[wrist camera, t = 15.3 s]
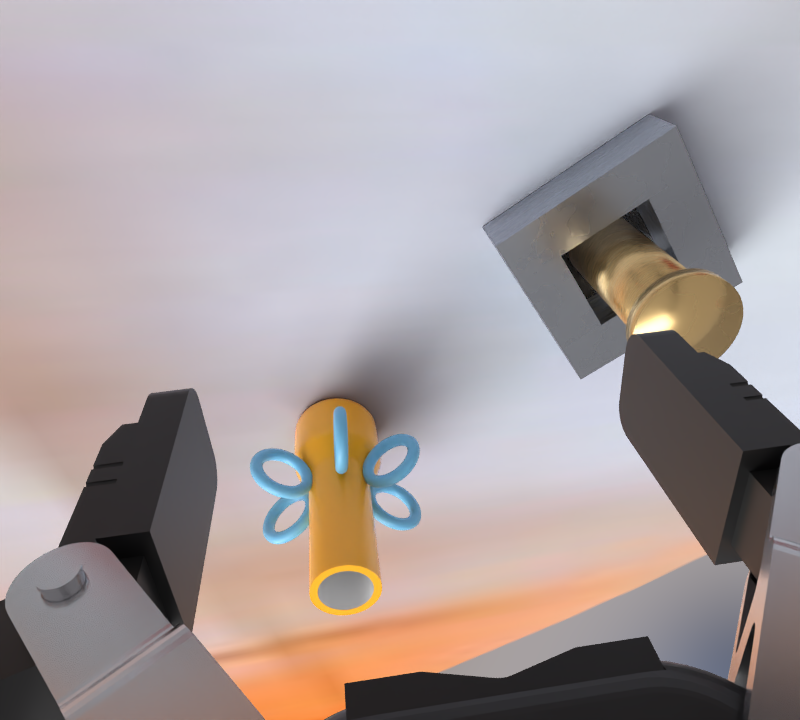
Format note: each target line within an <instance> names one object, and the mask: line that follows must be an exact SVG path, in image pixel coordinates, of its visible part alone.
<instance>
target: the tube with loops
mask: <svg viewBox="0 0 800 720" xmlns="http://www.w3.org/2000/svg"><path fill="white" fill-rule="evenodd" d="M396 446H406V447H407V448H408V452H407V456H406V458H405V459H404V461H403V462H402V463H401V465H400V466H399V467H397V468H396V469H395V470H393V471H392V472H390V473H388V474H385V475H381V476H378V472H379V469H380V463H381V460H380V457H381V456H382V455H383V454H384V453H385V452H387V451H388V450H390V449H392V448H394V447H396ZM419 453H420V448H419V444H418V442H417V440H416V439H415V438H414V437H412V436H410V435H407V434H397V435H393V436H390V437H388V438H386V439H384V440H383V441H381V442H380V443H378V437H377V431H376V425H375V421H374V419H373V417H372V415H371V414H370V413H369V411H368V410H366V409H365V408H364V407H363V406H362V405H360V404H359V403H357V402H354V401H352V400H347V399H342V398H333V399H326V400H323V401H320V402H318V403H315V404H313V405H312V406H311V407H309V408H308V409H307V410H306V411H305V412H304V413H303V414H302V415H301V417H300V418H299V420H298V422H297V425H296V431H295V455H294V454H293V453H290V452H288V451H285V450H281V449H265V450H262V451H259V452H258V453H256V454H255V455H254V457H253V458H252V460H251V463H250V471H251V474H252V477H253V478H254V480H255V481H256V483H257V484H258V485H259V486H260V487H261V488H263V489H264V490H265V491H267V492H269V493H270V494H272V495H275V496H278V497H281V498H280V499H279V500H278V501H277V502H276V503H275V504H274V505H273V507H272V508H271V509H270V511H269V512H268V514H267V516H266V518H265V521H264V524H263V534H264V536H265V538H266V539H267V540H268V541H269V542H270V543H273V544H283V543H286V542H289V541H291V540H293V539H294V538H296V537H297V536H299V535H300V534H301V533H302V532H303V531H304V530H305V529H306V528H307V527H308V526H309V594H310V599H311V601H312V602H313V604H314V605H315V606H316V607H317V608H319V609H320V610H322V611H324V612H326V613H329V614H334V615H351V614H355V613H359V612H361V611H364V610H366V609H368V608H369V607H371V606H372V605H373V604H374V603H375V602H376V601H377V600H378V598H379V597H380V595H381V591H382V583H381V575H380V567H379V559H378V550H377V542H376V534H375V525H374V518H375V519H377V520H378V521H379V522H380V523H382V524H384V525H385V526H387V527H390V528H392V529H396V530H410V529H412V528H414V527H415V526H417V525H418V523H419V522H420V519H421V510H420V507H419V504H418V503H417V501H416V500H415V498H414V497H413V496H412V495H411V494H410V493H409V492H408V491H406V490H405V489H404V488H402V487H400V486H398V485H396V483H397V482H399V481H401V480H402V479H403V478H405V477H406V476H407V475H408V474H409V473H410V472H411V470H412V469H413V468H414V466H415V465H416V463H417V461H418V458H419ZM269 460H276V461H281V462H284V463H286V464H288V465H290V466H292V467H293V468H294V469H295V471H296V474H297V477H298V479H299V480H300V482H301V483H300V484H299V485H297V486H286V485H282V484H279V483H277V482H275V481H273V480H272V479H271V478H269V477H268V476H267V475H266V473H265V472H264V470H263V467H262V465H263V463H264V462H266V461H269ZM380 492H384V493H389V494H391V495H394V496H396V497H397V498H399V499H400V500H401V501H402V502H403V503H404V504H405V505H406V506H407V507H408V509H409V512H410V516H409V517H408V518H397V517H394V516H392V515H390V514H388V513H387V512H386V511H384V510H383V509H382V508H381V507H380V506H379V504H378V503H377V501H376V498H375V495H376V494H377V493H380ZM301 500H303V501H305V509H304V511H303V513H302V515H301V517H300V518H299V519H298V520H297V521H296V523H294V524H293V525H292V526H291V527H290V528H288V529H286V530H284V531H281V532H276V531H275V523H276V521H277V519H278V517H279V516H280V514H281V513H282V512H283V511H284V510H285V509H286V508H287V507H288V506H289V505H291V504H293V503H294V502H297V501H301Z"/></svg>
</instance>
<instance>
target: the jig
mask: <svg viewBox="0 0 800 720" xmlns="http://www.w3.org/2000/svg"><path fill="white" fill-rule="evenodd" d="M636 207H637V209H638V211H639V213H640V215H641V217H642V219H643V221H644V223H645V225H646V227H647V229H648V231H649V233H650V235H651V237H652V239H653V241H654V243H655V244H656V245H658V246H659V247H660V248H661V249H663V250H664V251H665V252H666V253H668V254H669V255H670V256H671V257H673V258H674V259H675V260H676V261H678V262H679V263H680V264H681V265H683V266H684V267H685V268H687V269H688V268H699V269H705V270H709V271H711V272H714V273H715V274H717V275H719V276H720V277H721V278H723V279H724V280H725V281H727V282H728V283H729V284H731V285H732V286H733V287H735V286H737V285H738V284H740V283H742V280H741V277H740V275H739V273H738V270H737V268H736V265H735V263H734V261H733V258H732V256H731V254H730V251H729V249H728V246H727V244H726V242H725V239H724V237H723V235H722V232H721V230H720V227H719V225H718V223H717V220H716V218H715V216H714V213H713V211H712V208H711V206H710V204H709V201H708V199H707V197H706V194H705V192H704V190H703V187H702V185H701V182H700V180H699V178H698V175H697V173H696V171H695V168H694V166H693V163H692V161H691V159H690V156H689V154H688V152H687V149H686V147H685V144H684V142H683V140H682V137H681V135H680V133H679V130H678V128H677V126H676V125H674V124H672V123H669V122H667V121H664V120H662V119H660V118H657V117H655V116H653V115H650V114H648V115H647V116H645V117H644V118H643V119H641V120H640V121H638V122H637V123H635V124H634V125H632V126H631V127H629V128H628V129H626V130H625V131H623V132H622V133H620V134H619V135H617V136H616V137H614V138H613V139H612V140H610V141H609V142H607V143H606V144H604V145H603V146H601V147H600V148H598V149H597V150H595V151H594V152H592V153H591V154H589V155H588V156H586V157H585V158H583V159H582V160H581V161H579V162H578V163H576V164H575V165H573V166H572V167H570V168H569V169H567V170H566V171H564V172H563V173H561V174H560V175H558V176H557V177H555V178H554V179H552V180H551V181H550V182H548V183H547V184H545V185H544V186H542V187H541V188H539V189H538V190H536V191H535V192H533V193H532V194H530V195H529V196H527V197H526V198H524V199H523V200H522V201H520V202H519V203H517V204H516V205H514V206H513V207H511V208H510V209H508V210H507V211H505V212H504V213H502V214H501V215H499V216H498V217H496V218H495V219H493V220H492V221H491V222H489V223H488V224H486V225H485V226H483V229H484V231H485V232H486V234H487V235H488V237H489V238H490V240H491V241H492V243H493V245H494V246H495V248H496V249H497V251H498V252H499V254H500V255H501V257H502V259H503V260H504V262H505V263H506V265H507V266H508V268H509V269H510V271H511V273H512V274H513V276H514V277H515V279H516V280H517V282H518V283H519V285H520V287H521V288H522V290H523V291H524V293H525V294H526V296H527V297H528V299H529V301H530V302H531V304H532V305H533V307H534V308H535V310H536V311H537V313H538V315H539V316H540V318H541V319H542V321H543V322H544V324H545V325H546V327H547V329H548V330H549V332H550V333H551V335H552V336H553V338H554V339H555V341H556V343H557V344H558V346H559V347H560V349H561V350H562V352H563V353H564V355H565V356H566V358H567V359H568V361H569V362H570V364H571V365H572V367H573V368H574V370H575V371H576V373H577V374H578V376H579V377H580V379H582V378H584V377H586V376H587V375H589V374H591V373H592V372H594V371H596V370H597V369H599V368H601V367H602V366H604V365H606V364H607V363H609V362H611V361H612V360H614V359H616V358H617V357H619V356H621V355H622V354H624V353H625V351H626V344H627V339H626V324H625V323H624V322H623V321H622V320H621V319H620V318H619V317H618V315H617V314H616V313H615V312H614V311H613V310H612V309H611V308H610V306H609V305H608V304H607V303H606V302H605V301H604V300H603V299H602V297H601V296H600V295H599V294H598V293H596V294H594V295H593V296H591V297H590V298H588V299H586V298H585V296H584V294H583V293H582V291H581V289H580V287H579V286H578V284H577V282H576V281H575V279H574V277H573V276H572V274H571V272H570V270H569V269H568V267H567V265H566V264H565V262H564V260H563V258H562V257H561V256H562V255H563V254H565V253H566V252H568V251H570V250H571V249H573V248H574V247H576V246H577V245H579V244H580V243H582V242H583V241H585V240H586V239H588V238H590V237H591V236H593V235H594V234H596V233H597V232H599V231H600V230H602V229H603V228H605V227H606V226H608V225H610V224H611V223H613V222H614V221H616V220H617V219H619V218H620V217H622V216H623V215H625V214H626V213H628V212H630V211H631V210H633V209H634V208H636Z"/></svg>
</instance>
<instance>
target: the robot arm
mask: <svg viewBox="0 0 800 720" xmlns="http://www.w3.org/2000/svg"><path fill="white" fill-rule="evenodd" d="M619 413H620V419H621V424H622V427H623V430H624V432H625V434H626V436H627V437H628V439H629V440H630V442H631V443H632V445H633V446H634V448H635V449H636V451H637V452H638V454H639V455H640V457H641V458H642V459H643V461H644V462H645V464H646V465H647V467H648V468H649V470H650V471H651V473H652V474H653V476H654V477H655V478H656V480H657V481H658V483H659V484H660V486H661V487H662V489H663V490H664V492H665V493H666V495H667V496H668V498H669V499H670V500H671V502H672V503H673V505H674V506H675V508H676V509H677V511H678V512H679V514H680V515H681V517H682V518H683V519H684V521H685V522H686V524H687V525H688V527H689V528H690V530H691V531H692V533H693V534H694V536H695V537H696V539H697V540H698V541H699V543H700V544H701V546H702V547H703V549H704V550H705V552H706V553H707V555H708V556H709V558H710V559H711V560H712V562H713V563H714V565H718V564H726V563H732V562H739V561H743V562H744V563H745V564H746V566H747V567H748V568H749V573H748V576H747V580H746V583H745V588H744V593H743V599H742V605H741V610H740V616H739V621H738V627H737V632H736V639H735V643H734V649H733V655H732V660H731V666H730V671H729V676H728V680H727V679H725V678H722V677H720V676H717V675H715V674H712V673H710V672H708V671H704V670H701V669H698V668H695V667H691V666H688V665H683V664H678V663H673V662H667V661H660V660H659V657H658V655H657V653H656V651H655V650H654V647H653V645H652V644H651V642H650V640H649V638H648V637H641V638H634V639H628V640H621V641H615V642H608V643H602V644H595V645H589V646H582V647H577V648H573V649H571V650H569V651H567V652H564V653H562V654H560V655H557V656H555V657H553V658H550V659H548V660H546V661H544V662H541V663H539V664H537V665H535V666H532V667H530V668H528V669H525V670H523V671H521V672H518V673H516V674H514V675H512V676H509V677H505V678H486V677H476V676H464V675H453V674H441V673H430V672H416V673H409V674H403V675H397V676H390V677H384V678H377V679H371V680H365V681H358V682H352V683H345V702H346V709H345V710H342V711H340V712H338V713H336V714H334V715H332V716H330V717H328V718H326V719H325V720H800V430H799V429H798V428H797V427H796V426H795V425H794V424H793V423H792V422H791V421H790V420H789V419H787V418H786V417H785V416H784V415H783V414H782V413H781V412H780V411H779V410H778V409H777V408H776V407H775V406H774V405H773V404H771V403H770V402H769V401H768V400H767V399H766V398H764V399H763V398H762V394H761V393H760V392H759V391H758V390H757V389H755V388H754V387H753V386H752V385H748V381H747V380H746V379H745V378H744V377H743V376H742V375H741V374H739V373H738V372H737V371H736V370H735V369H734V368H733V367H732V366H731V365H730V364H728V363H726V362H724V361H722V360H720V359H718V358H716V357H714V356H712V355H709V354H707V353H705V352H699V353H698V352H697V351H696V350H695V349H694V348H693V347H692V346H691V345H689V344H688V343H687V342H686V341H685V340H684V339H683V338H682V337H681V336H680V335H679V334H678V333H677V332H676V331H674V330H664V331H656V332H648V333H640V334H633V335H631V336H630V337H629V339H628V341H627V344H626V351H625V359H624V368H623V376H622V384H621V393H620V401H619ZM93 466H94V469H93V470H91V472H90V475H89V477H88V479H87V481H86V487H84V488H83V491H82V493H81V495H80V498H79V500H78V502H77V505H76V507H75V509H74V512H73V514H72V516H71V519H70V521H69V523H68V526H67V528H66V530H65V533H64V535H63V537H62V540H61V542H60V544H59V547H58V548H56V549H54V550H52V551H50V552H48V553H46V554H44V555H42V556H40V557H39V558H37V559H36V560H34V561H33V562H32V563H30V564H29V565H28V566H27V567H25V568H24V569H23V570H22V571H21V572H20V573H19V574H18V576H17V577H16V578H15V579H14V581H13V582H12V584H11V585H10V587H9V589H8V592H7V594H6V599H4V600H2V601H0V720H265V719H264V718H263V716H262V715H261V714H260V713H259V712H258V710H257V709H256V708H255V707H254V706H253V705H252V703H251V702H250V701H249V700H248V699H247V697H246V696H245V695H244V694H243V693H242V691H241V690H240V689H239V688H238V687H237V685H236V684H235V683H234V682H233V681H232V679H231V678H230V677H229V676H228V675H227V673H226V672H225V671H224V670H223V669H222V667H221V666H220V665H219V664H218V663H217V662H216V660H215V659H214V658H213V657H212V656H211V654H210V653H209V652H208V651H207V650H206V648H205V647H204V646H203V645H202V644H201V642H200V641H199V640H198V639H197V638H196V636H195V635H194V634H193V633H192V630H193V624H194V618H195V612H196V606H197V601H198V595H199V589H200V583H201V577H202V572H203V566H204V560H205V554H206V549H207V543H208V537H209V531H210V525H211V520H212V514H213V508H214V502H215V496H216V490H217V469H216V461H215V456H214V453H213V449H212V445H211V442H210V438H209V434H208V431H207V427H206V424H205V420H204V416H203V413H202V409H201V406H200V402H199V399H198V396H197V393H196V391H195V390H194V389H193V388H190V389H182V390H174V391H166V392H158V393H151V394H149V396H148V398H147V400H146V403H145V406H144V408H143V411H142V414H141V416H140V419H139V422H138V423H132V424H124V425H122V426H121V427H119V428H118V429H117V430H116V431H115V432H114V433H113V434H112V435H111V436H110V437H109V438H108V439H107V440H106V441H105V442H104V443H103V444H102V447H101V449H100V451H99V454H98V456H97V458H96V461H95V463H94V465H93Z"/></svg>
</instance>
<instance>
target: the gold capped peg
mask: <svg viewBox="0 0 800 720" xmlns="http://www.w3.org/2000/svg"><path fill="white" fill-rule="evenodd" d="M568 253H569V258H570V261H571V263H572V265H573V266H574V267H575V268H576V269H577V271H578V272H579V273H580V274H581V275H582V276H583V277H584V278H585V280H586V281H587V282H588V283H589V284H590V285H591V286H592V287H593V289H594V290H595V291H596V292H597V293H598V294H599V295H600V296H601V297H602V299H603V300H604V301H605V302H606V303H607V304H608V305H609V306H610V308H611V309H612V310H613V311H614V312H615V313H616V314H617V315H618V317H619V318H620V319H621V320H622V321H623V322H624V323H625V324H626V339H627V341H628V339H629V337H630V336H631V335H633V334H640V333H648V332H656V331H664V330H674V331H676V332H677V333H678V334H679V335H680V336H681V337H682V338H683V339H684V340H685V341H686V342H687V343H688V344H689V345H691V346H692V347H693V348H694V349H695V350H696V351H697V352H698V353H699V352H705V353H707V354H709V355H712V356H714V357H716V358H719V357H720V356H721V355H722V354H723V353H724V352H725V351H726V350H727V349H728V348H729V347H730V345H731V344H732V343H733V341H734V340H735V338H736V336H737V334H738V332H739V330H740V327H741V324H742V319H743V305H742V301H741V297H740V295H739V294H738V292H737V291H736V289H735V288H734V287H733V286H732V285H731V284H729V283H728V282H727V281H725V280H724V279H723V278H721V277H720V276H719V275H717V274H715V273H714V272H711V271H709V270H705V269H699V268H688V269H687V268H685V267H684V266H683V265H681V264H680V263H679V262H678V261H676V260H675V259H674V258H673V257H671V256H670V255H669V254H668V253H666V252H665V251H664V250H663V249H661V248H660V247H659V246H658V245H656V244H655V243H654V242H652V241H651V240H650V239H649V238H647V237H646V236H645V235H644V234H642V233H641V232H640V231H639V230H637V229H636V228H635V227H634V226H632V225H631V224H630V223H629V222H627V221H626V220H625V219H623V218H622V217H620V218H619V219H617V220H616V221H614V222H613V223H611V224H610V225H608V226H606V227H605V228H603V229H602V230H600V231H599V232H597V233H596V234H594V235H593V236H591V237H590V238H588V239H586V240H585V241H583V242H582V243H580V244H579V245H577V246H576V247H574V248H573V249H571V250H570V251H568Z"/></svg>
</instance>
